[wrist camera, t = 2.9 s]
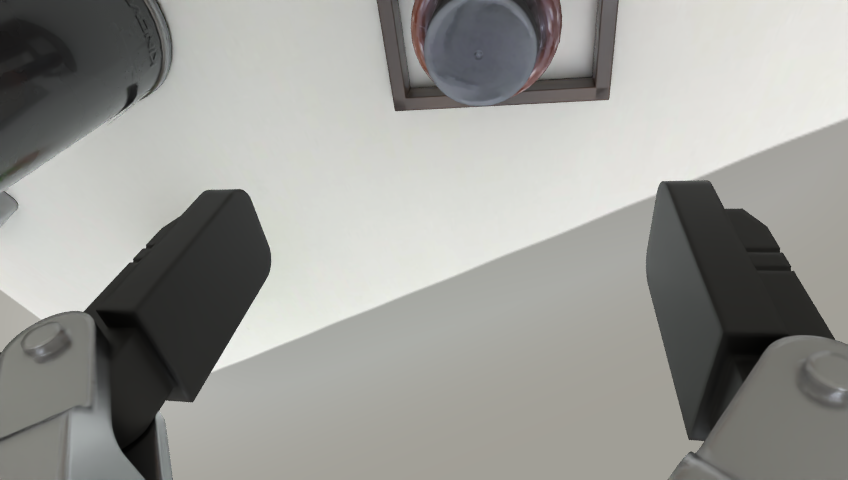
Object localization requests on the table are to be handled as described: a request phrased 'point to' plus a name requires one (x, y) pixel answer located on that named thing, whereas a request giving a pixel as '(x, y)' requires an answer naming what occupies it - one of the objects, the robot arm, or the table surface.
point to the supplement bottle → (485, 45)
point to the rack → (535, 94)
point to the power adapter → (6, 207)
